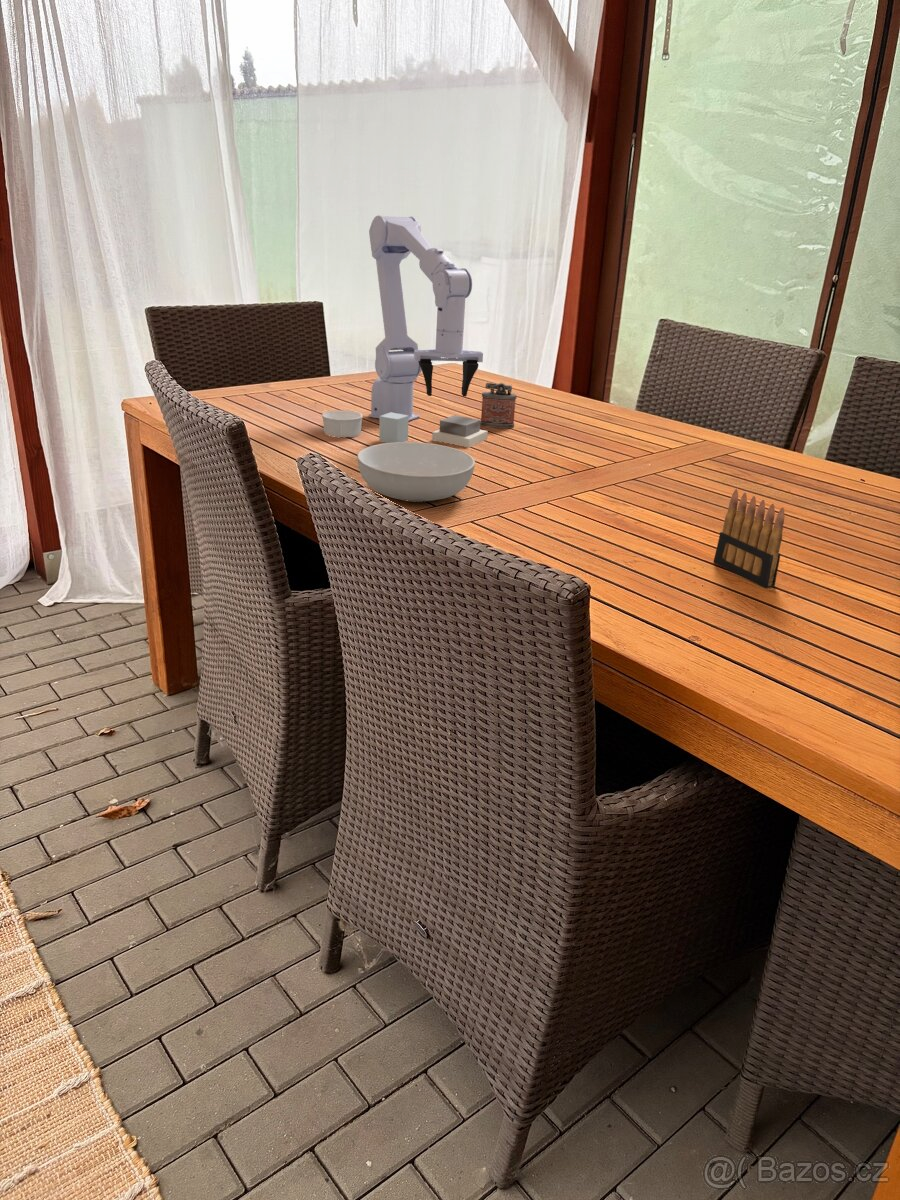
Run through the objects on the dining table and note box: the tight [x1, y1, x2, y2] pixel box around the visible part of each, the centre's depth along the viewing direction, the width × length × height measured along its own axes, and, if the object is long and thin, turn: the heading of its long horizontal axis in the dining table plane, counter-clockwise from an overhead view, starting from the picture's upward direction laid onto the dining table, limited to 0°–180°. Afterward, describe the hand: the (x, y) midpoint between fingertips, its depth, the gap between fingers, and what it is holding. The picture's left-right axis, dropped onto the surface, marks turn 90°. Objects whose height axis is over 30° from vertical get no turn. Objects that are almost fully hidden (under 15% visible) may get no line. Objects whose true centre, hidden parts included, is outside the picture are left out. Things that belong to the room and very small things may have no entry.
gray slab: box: [439, 414, 481, 437], centre depth 195 cm, size 6×6×2 cm
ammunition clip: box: [713, 489, 786, 589], centre depth 131 cm, size 11×2×12 cm, turn 29°
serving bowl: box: [356, 441, 476, 503], centre depth 159 cm, size 21×21×7 cm
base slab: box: [431, 428, 489, 449], centre depth 196 cm, size 9×9×2 cm
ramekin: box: [321, 409, 363, 438], centre depth 195 cm, size 9×9×4 cm
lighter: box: [480, 382, 518, 429], centre depth 207 cm, size 8×3×10 cm, turn 84°
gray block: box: [379, 412, 409, 443], centre depth 191 cm, size 4×4×6 cm
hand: (446, 395), depth 192 cm, fingers open, 7 cm apart
